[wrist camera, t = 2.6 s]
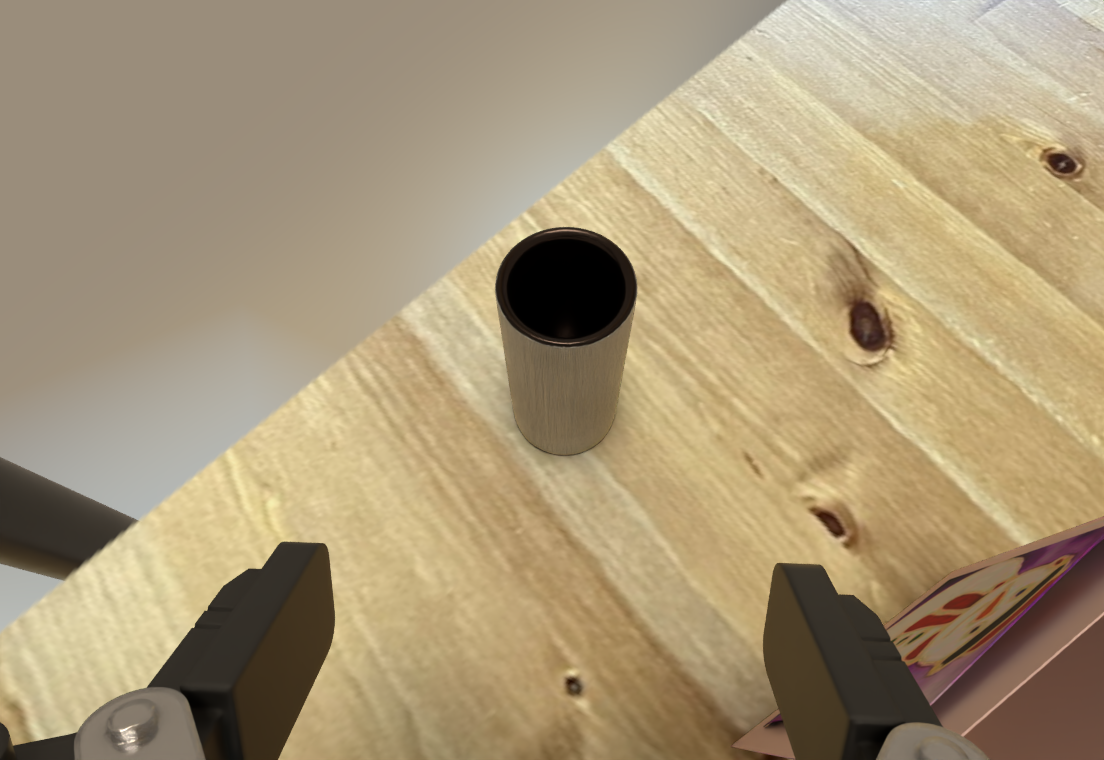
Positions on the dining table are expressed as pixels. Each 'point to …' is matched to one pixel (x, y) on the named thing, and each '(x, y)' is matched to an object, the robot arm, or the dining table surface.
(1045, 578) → the greeting card
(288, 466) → the dining table surface
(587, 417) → the planter
